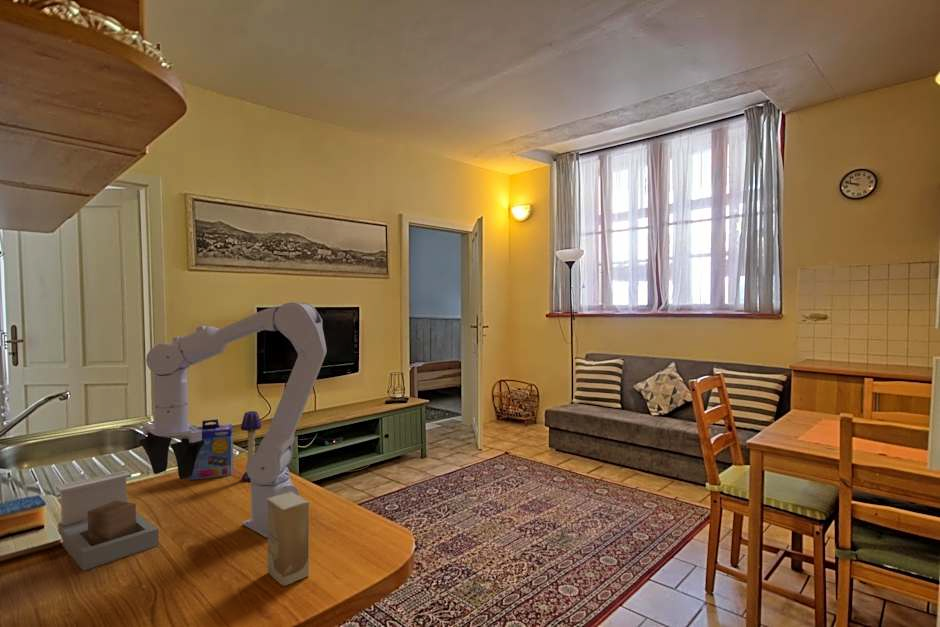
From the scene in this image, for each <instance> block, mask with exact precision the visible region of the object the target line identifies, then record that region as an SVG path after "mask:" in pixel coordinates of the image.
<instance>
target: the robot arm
mask: <svg viewBox="0 0 940 627" xmlns="http://www.w3.org/2000/svg"><path fill="white" fill-rule="evenodd" d="M195 329H196V331H194V332H192V333H190V334H187V335H184V336H182V337H181V336H175V337H173V338H172V342H170V343H167V342H166V343H158V344H156V345H155V346H154V347H151V349H150V350H149V351H148V352H147V355H146V358H145V359H146V361H145V362H146V366H147V367H148V369H149V370H150V371H151V372H152V381H153V382H152V385H153V386H152V388H153V389H152V390H153V422H152V423H148V424H143V425H142V435H143V436H145V438H144V437H143V438H141V439H139V444H140V446H141V447H142V448H143V450H144V451H145V453H146V455H147V457H148V460H149V462H150V466H151V470H152V472H153V474H154V475H158V474H161V473H164V472H166V471H167V468H168V462H169V461H168V460H169V458H168V457H169V449H170V448H171V449H172V451H173V454H174V456H175V460H176V464H177V473H178V477H179V480H185V479H189V477H191V476H192V474H193V470H194V466H195V462H196V459H197V456H198V454H199V451H200V449H201V448H202V446H203V444H204V439H202V430H198V429H195V428H194V423H191V422H189V391H188V390H189V389H188V388H189V387H188V369H189V368H190V366H194V365H196V364H198V363H201V362H204V361H206V360H208V359H210V358H214V357H215V356H217V355H221V354H223V353H224V351H225V350H226V348H227V345H228V344H230V343H232V342H235V341H238V340H240V339H243V338H246V337H248V336H251V335H254V334H256V333H259V332H262V331H269V332H276V331H279V333H281V334H282V335H283V336H284V337H285V338H287V339H288V340H289V341H290V343H291V344H292V346H293V348H294V349H295V352H296V353H297V358H296V360H295V362H294V365H293V368H292V370H291V372H290V375H289V378H288V380H287V382H286V386H285V388H284V390H283V393H282V395H281V398H280V399H279V402H278V405H277V408H276V410H275V412H274V416H273V417H272V420H271V422H270V425H269V428H268V430H267V432H266V433H265V435H264V437H263V439H262V440H261V442H260V443H259V446H258V448H257V450H255V452H254V454H253V455H252V456H251V457H250V458H249V460H248V459H247V461H248V462H247V461H246V466H245V471H246V472H247V475H248V477H249V478H250V479H251V481H250V497H251V498H250V499H251V500H250V503H251V506H250V507H251V508H250V512H251V518H250V519H247V520H244V521H242V525H243V526H245V527H247V528H249V529H250V530H252V531H254V532H256V533H258V534H259V535H261V536H262V537H265V538H268V504H267V499H268V498H271V497H274V496H278V495H281V494H285V493H288V492H293V493H295V494H296V495H298V496H300V492H299V490H298V488H297V487H296V486H295V485H294V484H293V483H292V480H291V472H290V470H289V468H288V465H289V464H290V463H291V461H292V459H293V444H294V441H295V433H296V431H297V428H298V425H299V423H300V420H301V418H302V416H303V413H304V411H305V408H306V405H307V404H308V403H307V402H308V401H309V399H310V396H311V392H312V390H313V388H314V385H315V383H316V380H317V378H318V375H319V373H320V370H321V368H322V365H323V363H324V360H325V359H326V358H325V357H326V355H327V351H328V350H327V343H326V339H325V333H324V329H323V319H322V317H321V316H320V314H319V313H318V311H317V309H316V308H315V307H314V306H313V305H312V304H311V303H307V302H298V303H297V302H294V301H293V302H287V303H284V304H283V303H282V305H277V306H272V307H269V308H265V309H262V310H259V311H258V312H255V313H253V314H251V315H248V316H246V317H244V318H242V319H240V320H238V321H234V322H232V323H230V324H228V325H226V326H224V327H221V328H218V327H215V326H213V325H209V326H206V325H200V326H197V327H195ZM172 439H174V440H180V441H179V442H175V443H171V442H172ZM300 497H301V496H300Z"/></svg>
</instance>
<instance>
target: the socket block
mask: <svg viewBox="0 0 940 627" xmlns="http://www.w3.org/2000/svg"><path fill="white" fill-rule="evenodd" d="M130 478H132V473H130V472H129V471H127V470H122V471H121V470H120V471H117V472H113V473H108V474H104V475H100V476H95V477H90V478H87V479H81V480H77V481H73V482H68V483H64V484H60V485H59V484H58V485H56V486H55V487H56V491H58V493H60V518H61V521H60V522H61V523H58V524H57V533H58V532H59V534H60V535H61V537H62V539H63V545H62V547H63V548H64V547H65V548H64V549H65V550H66V551H67V553H68V554H69V555H70V557H71V558H73V560H74V561H75V562H76V563H77V565H78V566H79V567H80V569H82V571H88V570H91V569H93V568H96V567H99V566H102V565H105V564H107V563H110V562H114V561H117V560H120V559H123V558H126V557H129V556H131V555H134V554H137V553H141V552H144V551H146V550H147V551H148V550H149V549H153V548H155V547H158V546H159V545H160V544H159V528H157V527H156V526H155V525H153V523H152V522H150V521H148V520H147V519H146V518H145V517H143V516H142V515H141V514H139V513H138V512H137V511H136V533H133V534H130V535H127V536H124V537H120V538H117V539H114V540H111V541H108V542H104V543H101V544H98V545H95V546H91V545H90V544H89V543H88V511H90V510H92V509H95V508H97V507H100V506H102V505H105V504H108V503H110V502H113V501H122V502H127V500H128V499H127V498H128V496H127V479H130Z"/></svg>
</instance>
